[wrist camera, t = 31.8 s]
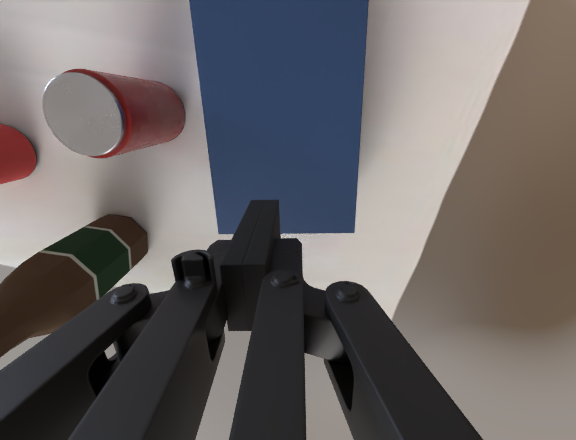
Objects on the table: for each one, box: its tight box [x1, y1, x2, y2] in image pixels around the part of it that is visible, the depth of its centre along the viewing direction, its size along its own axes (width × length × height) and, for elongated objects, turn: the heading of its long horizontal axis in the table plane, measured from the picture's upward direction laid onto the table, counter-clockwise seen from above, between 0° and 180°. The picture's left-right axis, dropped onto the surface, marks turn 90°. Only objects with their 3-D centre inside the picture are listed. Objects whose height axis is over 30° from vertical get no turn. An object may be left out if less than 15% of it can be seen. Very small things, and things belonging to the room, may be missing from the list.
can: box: [43, 69, 185, 158], centre depth 27 cm, size 7×7×12 cm
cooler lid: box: [189, 0, 368, 234], centre depth 25 cm, size 22×14×1 cm, turn 2°
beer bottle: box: [0, 214, 148, 357], centre depth 28 cm, size 8×8×24 cm
